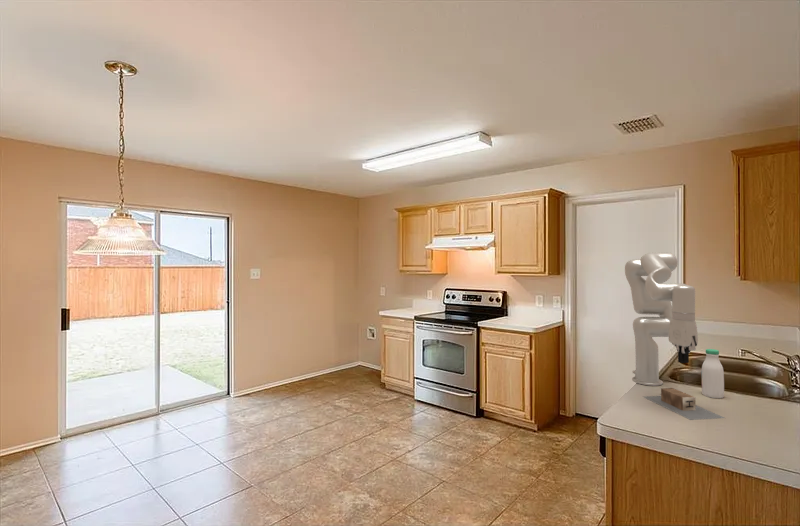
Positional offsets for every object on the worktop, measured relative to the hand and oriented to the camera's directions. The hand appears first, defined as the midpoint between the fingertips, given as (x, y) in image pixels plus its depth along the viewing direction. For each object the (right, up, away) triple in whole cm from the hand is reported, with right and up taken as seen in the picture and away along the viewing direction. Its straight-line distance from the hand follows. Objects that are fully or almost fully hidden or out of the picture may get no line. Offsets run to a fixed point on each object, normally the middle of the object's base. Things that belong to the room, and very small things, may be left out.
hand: (683, 362), depth 162 cm
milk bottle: (+23, -18, +15) cm, 33 cm away
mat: (0, -19, +2) cm, 19 cm away
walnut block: (0, -16, -3) cm, 16 cm away
